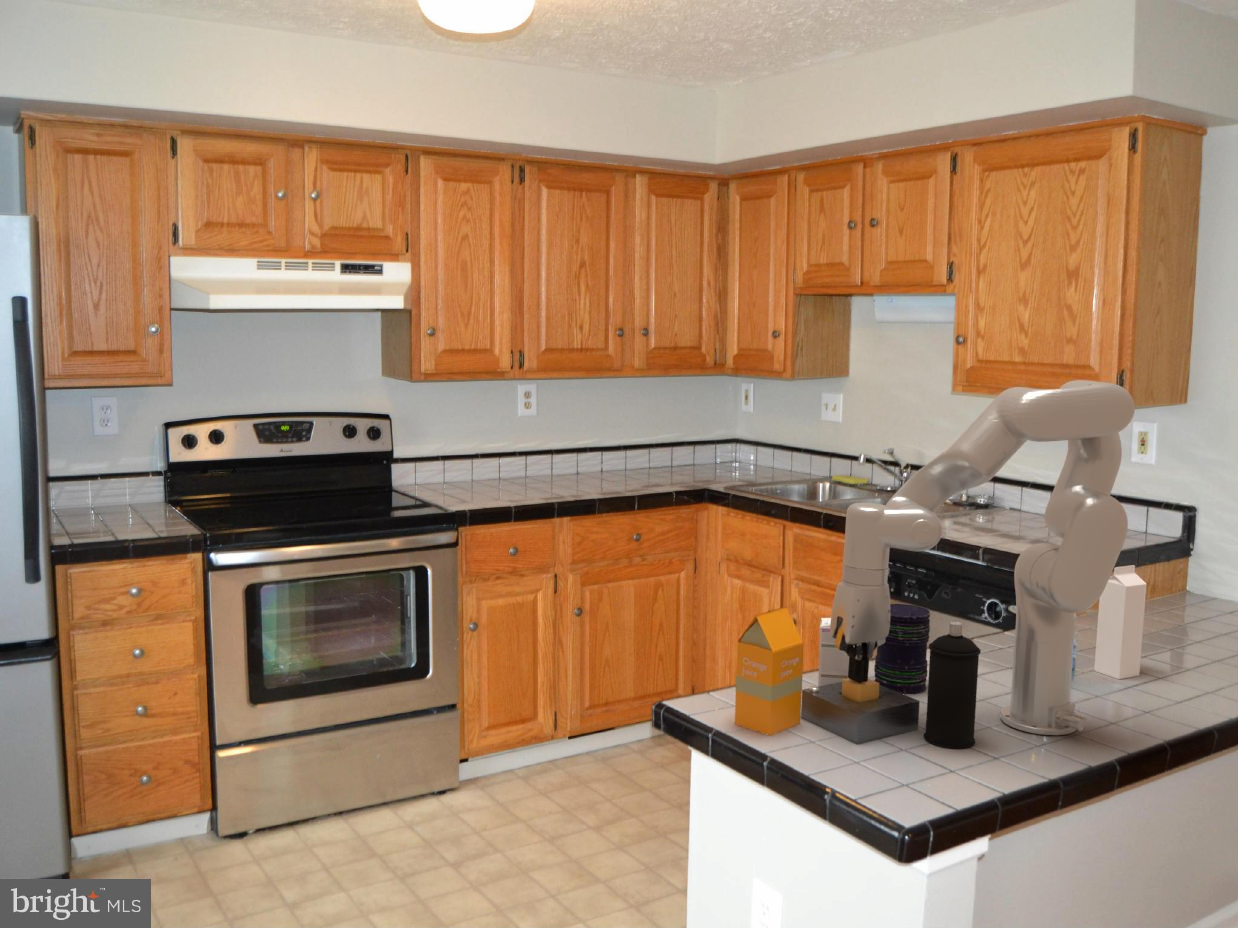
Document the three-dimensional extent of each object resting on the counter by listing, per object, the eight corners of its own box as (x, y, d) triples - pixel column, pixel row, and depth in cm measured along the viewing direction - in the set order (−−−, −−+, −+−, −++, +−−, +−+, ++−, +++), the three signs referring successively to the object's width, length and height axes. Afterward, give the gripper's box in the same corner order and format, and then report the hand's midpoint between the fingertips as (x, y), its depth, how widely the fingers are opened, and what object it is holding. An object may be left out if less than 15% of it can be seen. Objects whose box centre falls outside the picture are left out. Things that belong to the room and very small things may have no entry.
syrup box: (849, 704, 197) (853, 626, 195) (816, 701, 198) (819, 624, 196) (849, 694, 202) (852, 618, 200) (817, 691, 203) (820, 616, 202)
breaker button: (878, 699, 186) (879, 683, 186) (859, 703, 184) (860, 687, 183) (860, 691, 190) (861, 675, 189) (841, 695, 187) (842, 679, 187)
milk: (1093, 671, 219) (1100, 564, 216) (1114, 667, 222) (1121, 561, 219) (1119, 680, 214) (1127, 570, 211) (1140, 675, 216) (1148, 567, 214)
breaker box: (918, 729, 185) (919, 697, 184) (857, 744, 178) (858, 711, 177) (860, 704, 197) (861, 674, 196) (801, 717, 190) (802, 686, 189)
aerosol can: (968, 753, 175) (975, 632, 172) (917, 742, 179) (923, 624, 177) (980, 737, 182) (987, 621, 179) (931, 727, 186) (937, 614, 184)
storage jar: (863, 680, 211) (867, 605, 209) (907, 676, 214) (911, 602, 212) (891, 697, 201) (895, 618, 199) (937, 692, 204) (941, 615, 202)
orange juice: (801, 723, 187) (805, 610, 184) (770, 736, 181) (774, 619, 178) (764, 711, 192) (768, 601, 190) (733, 723, 186) (737, 610, 184)
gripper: (881, 567, 191) (874, 668, 193) (816, 574, 183) (809, 679, 186) (912, 576, 185) (905, 680, 187) (847, 584, 177) (840, 692, 179)
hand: (857, 679), depth 186 cm, fingers closed
